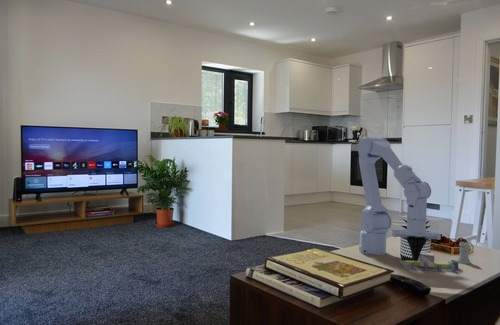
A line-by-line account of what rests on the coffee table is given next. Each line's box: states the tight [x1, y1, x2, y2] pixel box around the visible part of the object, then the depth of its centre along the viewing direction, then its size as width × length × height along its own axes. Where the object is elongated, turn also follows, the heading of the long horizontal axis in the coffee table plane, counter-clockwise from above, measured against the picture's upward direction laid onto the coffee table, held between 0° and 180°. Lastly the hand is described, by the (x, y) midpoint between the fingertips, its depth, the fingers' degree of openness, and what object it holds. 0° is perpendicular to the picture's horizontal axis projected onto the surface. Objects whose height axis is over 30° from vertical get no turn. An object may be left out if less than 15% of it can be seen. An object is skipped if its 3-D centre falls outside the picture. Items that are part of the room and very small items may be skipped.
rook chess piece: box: [456, 241, 472, 265], centre depth 127 cm, size 4×4×8 cm
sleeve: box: [418, 251, 435, 267], centre depth 121 cm, size 4×4×4 cm
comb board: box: [397, 259, 463, 274], centre depth 121 cm, size 17×10×3 cm, turn 80°
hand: (415, 259), depth 122 cm, fingers closed
